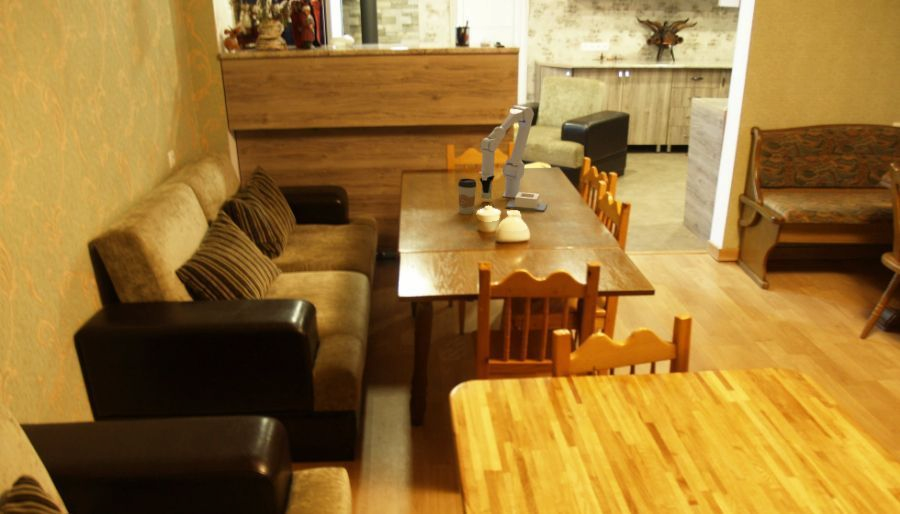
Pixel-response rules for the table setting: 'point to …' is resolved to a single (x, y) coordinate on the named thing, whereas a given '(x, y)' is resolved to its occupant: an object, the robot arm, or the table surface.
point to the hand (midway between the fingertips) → (486, 191)
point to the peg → (487, 195)
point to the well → (527, 202)
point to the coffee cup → (466, 195)
